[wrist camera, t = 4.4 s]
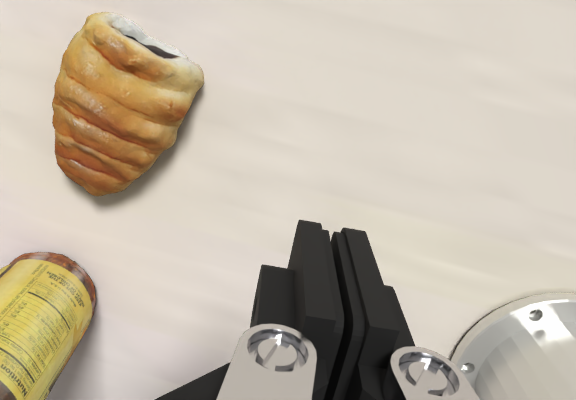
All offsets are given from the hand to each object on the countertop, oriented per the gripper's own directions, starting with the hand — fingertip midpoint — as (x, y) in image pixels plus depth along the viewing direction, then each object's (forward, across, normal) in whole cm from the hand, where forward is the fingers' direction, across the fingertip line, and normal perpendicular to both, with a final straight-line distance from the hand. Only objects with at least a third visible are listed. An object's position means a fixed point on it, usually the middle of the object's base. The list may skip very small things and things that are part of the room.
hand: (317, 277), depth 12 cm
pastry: (+16, +9, 0) cm, 19 cm away
